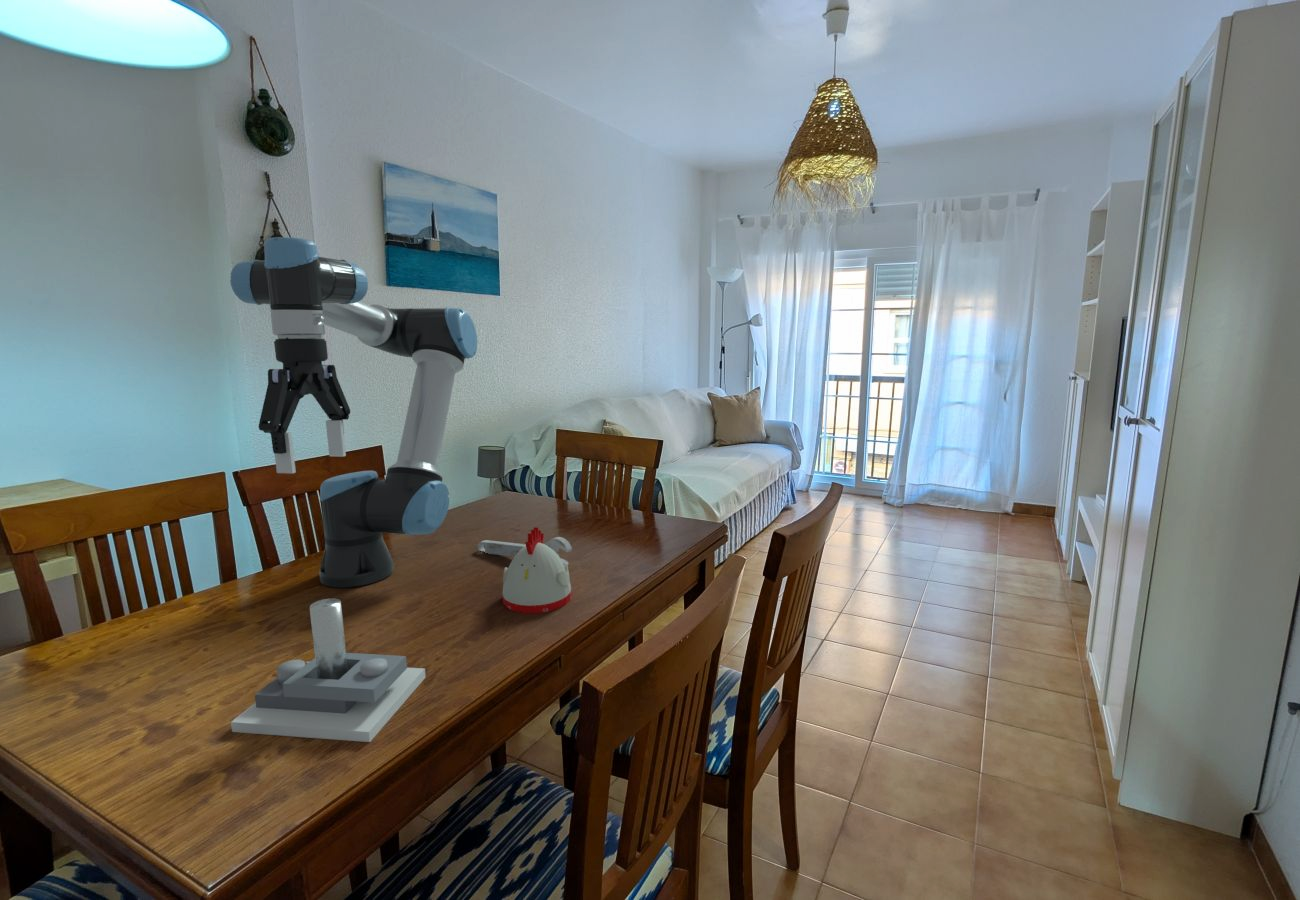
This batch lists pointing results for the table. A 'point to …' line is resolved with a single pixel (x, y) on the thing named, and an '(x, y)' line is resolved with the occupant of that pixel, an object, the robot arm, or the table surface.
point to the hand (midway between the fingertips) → (313, 464)
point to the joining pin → (328, 639)
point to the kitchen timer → (536, 578)
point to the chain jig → (331, 699)
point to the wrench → (514, 548)
